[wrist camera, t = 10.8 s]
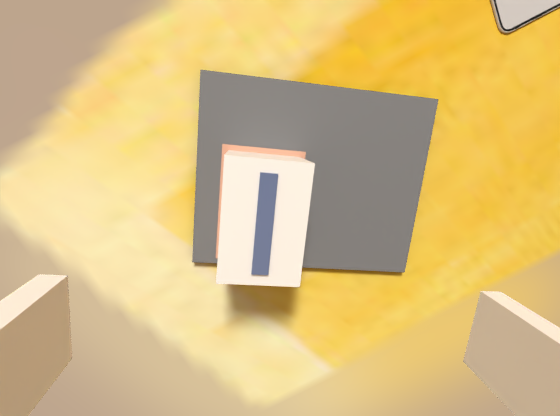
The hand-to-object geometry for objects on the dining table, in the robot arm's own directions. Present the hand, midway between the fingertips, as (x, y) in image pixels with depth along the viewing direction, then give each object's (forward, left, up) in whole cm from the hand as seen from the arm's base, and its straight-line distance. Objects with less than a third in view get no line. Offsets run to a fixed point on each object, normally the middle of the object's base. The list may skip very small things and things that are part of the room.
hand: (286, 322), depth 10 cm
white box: (0, 0, -18) cm, 18 cm away
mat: (-5, -2, -19) cm, 19 cm away
